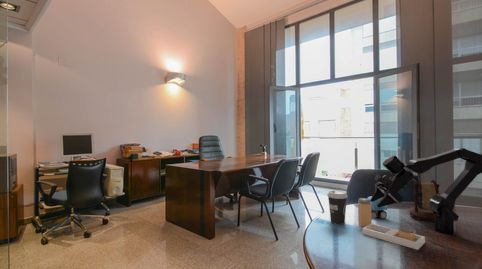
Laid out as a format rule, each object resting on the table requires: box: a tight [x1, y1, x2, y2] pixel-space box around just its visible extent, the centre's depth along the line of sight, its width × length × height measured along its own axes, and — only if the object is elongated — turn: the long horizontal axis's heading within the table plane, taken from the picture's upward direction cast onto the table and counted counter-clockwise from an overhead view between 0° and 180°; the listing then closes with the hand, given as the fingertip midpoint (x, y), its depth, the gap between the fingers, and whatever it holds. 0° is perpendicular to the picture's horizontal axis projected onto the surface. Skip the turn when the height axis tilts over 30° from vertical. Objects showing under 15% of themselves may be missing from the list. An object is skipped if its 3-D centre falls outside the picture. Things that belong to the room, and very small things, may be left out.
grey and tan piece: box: [397, 224, 417, 242], centre depth 97 cm, size 5×5×6 cm
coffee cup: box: [326, 190, 348, 225], centre depth 124 cm, size 10×10×15 cm
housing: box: [362, 223, 426, 251], centre depth 101 cm, size 20×9×4 cm, turn 40°
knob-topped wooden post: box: [357, 197, 372, 227], centre depth 116 cm, size 5×5×13 cm
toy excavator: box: [366, 195, 388, 220], centre depth 131 cm, size 9×17×17 cm, turn 94°
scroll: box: [409, 178, 441, 222], centre depth 127 cm, size 15×15×20 cm
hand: (374, 203), depth 116 cm, fingers open, 9 cm apart
